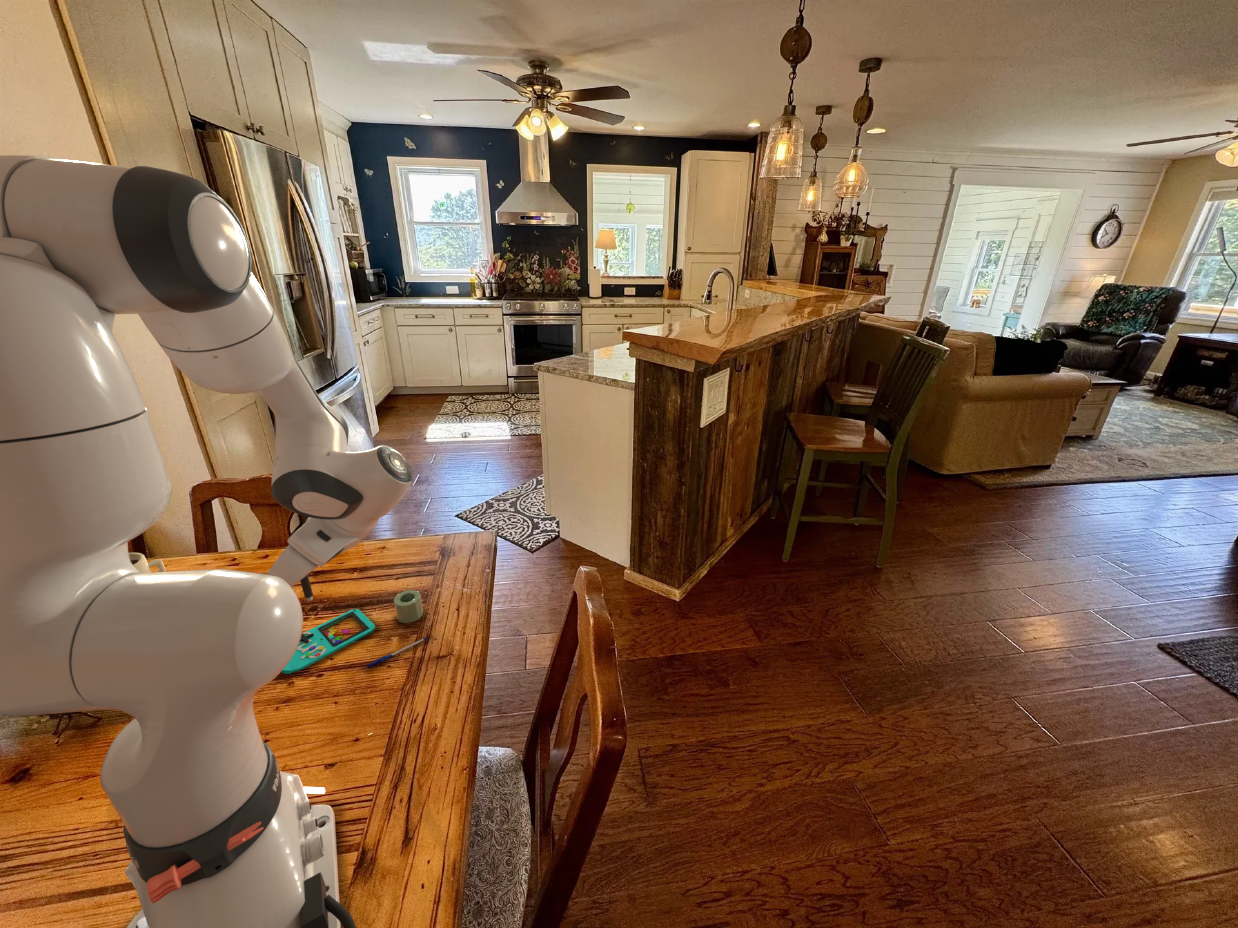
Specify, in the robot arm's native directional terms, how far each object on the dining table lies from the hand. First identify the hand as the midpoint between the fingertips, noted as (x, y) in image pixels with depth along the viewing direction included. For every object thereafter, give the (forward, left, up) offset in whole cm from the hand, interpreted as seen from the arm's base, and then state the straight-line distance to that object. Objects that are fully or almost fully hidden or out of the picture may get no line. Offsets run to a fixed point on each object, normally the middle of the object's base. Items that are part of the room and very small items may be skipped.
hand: (298, 568), depth 86 cm
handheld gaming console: (-5, -1, -13) cm, 14 cm away
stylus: (-1, 0, -7) cm, 7 cm away
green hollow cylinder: (-8, -15, -13) cm, 21 cm away
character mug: (+22, +23, -13) cm, 35 cm away
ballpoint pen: (-16, -9, -13) cm, 23 cm away
